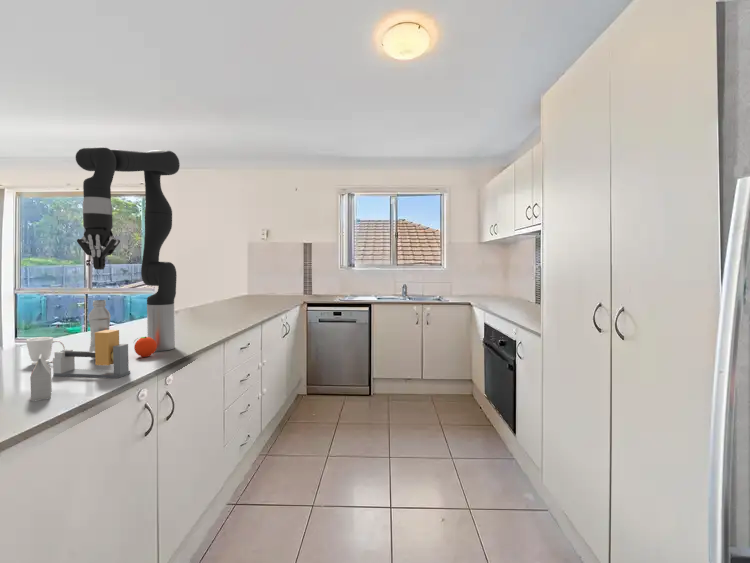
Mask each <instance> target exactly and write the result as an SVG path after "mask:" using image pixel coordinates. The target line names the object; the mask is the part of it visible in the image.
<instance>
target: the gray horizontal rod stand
mask: <svg viewBox="0 0 750 563" xmlns="http://www.w3.org/2000/svg"><path fill="white" fill-rule="evenodd" d="M73 350H74V349H65V350H64V349H62V350H60V351H54V352H53V353H54V357H53V358H52V360H53V362H52V369H53V370H52V374H53V377H72V376H77V377H79V378H81V377H82V378H103V377H106V379H107V378H109V379H120V378H122V377H125V376H128V375H129V374H131V370H130V369H129V344H128V343H119V345H116V346H113V351H112V352H111V359H112V360H113V364H112V365H113V369H89V368H87V369H86V368H85V369H84V368H76V367H75V366H76V365H75V358H91V357H95V352H89V351H79V350H77V351H76V350H75V351H73Z"/></svg>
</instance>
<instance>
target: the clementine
mask: <svg viewBox="0 0 750 563" xmlns="http://www.w3.org/2000/svg"><path fill="white" fill-rule="evenodd" d="M133 347H134V352H135V353H136V355H138V356H139V357H143V358H145V357H150V356H152V355H153V354H154V353H155V352H157V351H156V348H157V344H156V342H155V340H154V339H152V338H150V337H148V336H141V337H137V338H136V341H135V342H134V346H133Z"/></svg>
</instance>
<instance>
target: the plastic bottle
mask: <svg viewBox="0 0 750 563" xmlns="http://www.w3.org/2000/svg"><path fill="white" fill-rule="evenodd" d="M106 302H107V301H106V299H97V300H93V301H92V307H93V308H92V309H91V311H90V312H89V313H88V316H87V317H88V323H89V328H90V344H89V349H88V352H95V332H99V331H103V330H110V325H111V318H112V317H111V316H112V315H111V313H110V311H109V310H108V309H107V307H106V306H107V303H106ZM90 358H91V359H93V360H95V357H90Z"/></svg>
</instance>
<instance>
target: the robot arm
mask: <svg viewBox="0 0 750 563" xmlns="http://www.w3.org/2000/svg"><path fill="white" fill-rule="evenodd" d="M75 162H76V163H77V165H78V167H80V168H81V169H83V170H85V171H88V172H94V173H93V175H92V176H91V177H87V178H86V179H84V180H83V184H82V185H83V186H82V190H83V192H82V194H83V199H82V200H83V201H82V224H83V228H84V232H83V236H82V237H81V238H78V239H76V242H77V244H78V245H79V246H80V248H81V249H82V250H83V252H84V253H85V255H86V256H91V257H92V264H93V268H94V270H104V269H105V268H106V257H107V256H111V255H112V254H113V253H114V251H115V250H116V249H117V247H118V246H119V244H120V243H121V240H120V239H117V238H116V237H114V233H113V231H112V229H113V205H112V197H111V196H112V195H111V194H112V190H111V187H112V184H113V179H114V175H115V172H122V173H123V172H125V173H126V172H127V173H128V172H131V173H132V172H143V177H144V190H145V191H144V192H145V194H144V195H145V197H144V198H145V199H144V200H145V204H144V205H145V208H144V241H143V242H144V243H143V244H144V245H143V253H142V259H141V260H142V261H141V266H140V267H141V268H140V273H141V274H140V276H141V280H142V282H143V284H144V285H145V286H151V287H157V288H158V289H157V291H156V292H155V293H153V294H152V295H149V296H148V297H147V298H146V315H147V316H146V323H147V327H146V328H147V329H146V330H147V331H146V332H147V333H146V334H147V337H150V338H152V339H154V340H155V342H156V344H157V348H156V351H155V352H161V351H163V352H164V351H170V350H173V349H175V348H176V338H175V337H176V335H175V334H176V332H175V331H176V330H175V326H176V325H175V298H176V294H177V277H178V276H177V269H176V267H175V264H173V263H172V261H171V262H170V261H160V258H159V257H160V253H161V249H162V246H163V244H164V242H165V241H166V240H167V238H168V236H169V234H170V233H171V231H172V228H173V209H172V207H171V205H170V203H169V201H168V200H167V198H166V196H165V194H164V192H163V190H162V184H161V176H172V175H176V173H178V172H179V170H180V165H181V164H180V159H179V157H178V156H177V154H176V153H175V152H173V151H171V150H170V149H169V150H168V149H155V150H148V151H146V152H145V151H136V150H129V149H118V148H111V149H110V148H109V147H106V146H105V147H104V146H93V147H91V146H89V147H87V146H86V147H82V148H80V149H79V150H78V151H76V153H75Z"/></svg>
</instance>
